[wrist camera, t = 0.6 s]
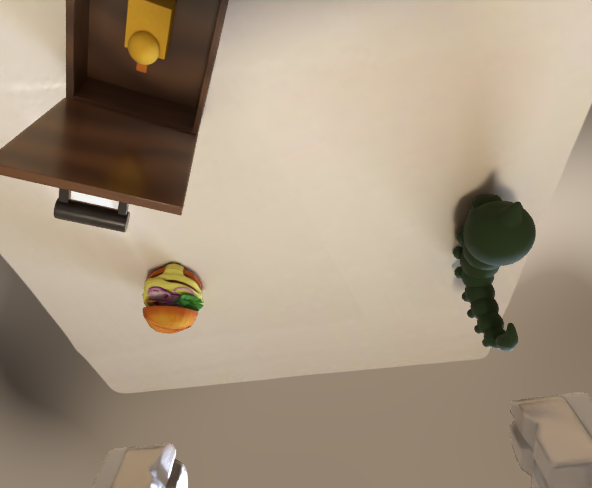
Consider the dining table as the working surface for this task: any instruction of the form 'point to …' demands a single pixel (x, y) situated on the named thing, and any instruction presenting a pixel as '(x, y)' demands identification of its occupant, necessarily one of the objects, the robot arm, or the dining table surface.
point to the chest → (160, 75)
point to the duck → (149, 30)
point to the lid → (102, 162)
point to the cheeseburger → (172, 299)
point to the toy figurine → (491, 261)
